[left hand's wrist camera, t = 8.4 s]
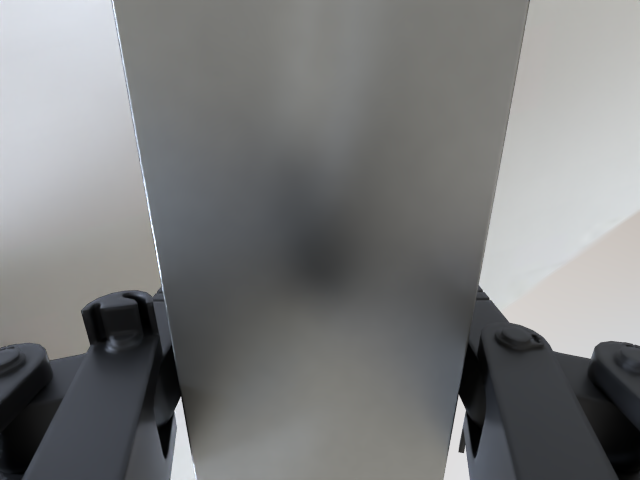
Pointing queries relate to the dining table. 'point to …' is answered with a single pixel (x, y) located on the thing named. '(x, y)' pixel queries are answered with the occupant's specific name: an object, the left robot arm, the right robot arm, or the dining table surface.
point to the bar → (320, 219)
